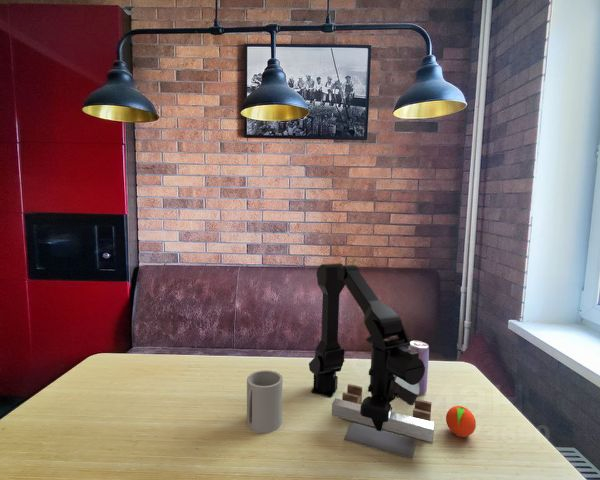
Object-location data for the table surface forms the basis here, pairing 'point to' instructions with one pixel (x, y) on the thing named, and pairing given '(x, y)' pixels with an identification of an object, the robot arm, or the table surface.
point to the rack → (420, 410)
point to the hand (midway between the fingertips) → (380, 426)
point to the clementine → (460, 421)
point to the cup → (264, 401)
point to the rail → (395, 423)
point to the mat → (381, 440)
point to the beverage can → (423, 353)
